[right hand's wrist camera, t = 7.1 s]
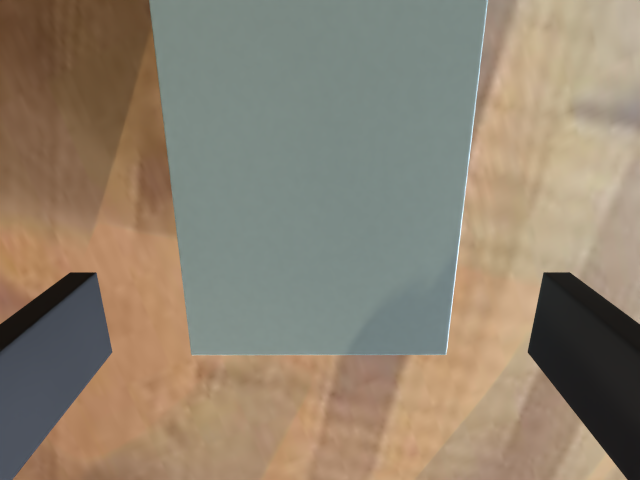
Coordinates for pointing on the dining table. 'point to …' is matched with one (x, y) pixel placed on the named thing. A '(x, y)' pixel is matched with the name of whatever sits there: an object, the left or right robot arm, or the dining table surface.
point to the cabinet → (318, 169)
